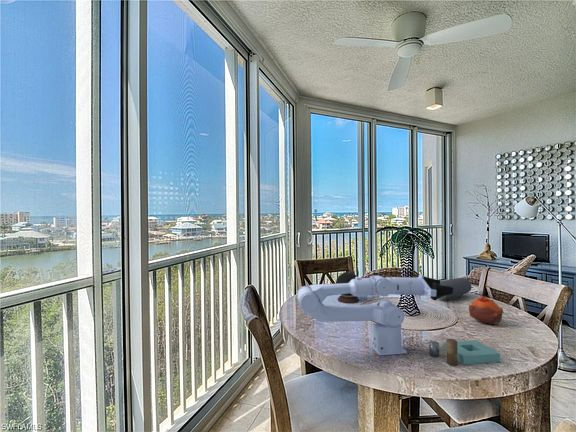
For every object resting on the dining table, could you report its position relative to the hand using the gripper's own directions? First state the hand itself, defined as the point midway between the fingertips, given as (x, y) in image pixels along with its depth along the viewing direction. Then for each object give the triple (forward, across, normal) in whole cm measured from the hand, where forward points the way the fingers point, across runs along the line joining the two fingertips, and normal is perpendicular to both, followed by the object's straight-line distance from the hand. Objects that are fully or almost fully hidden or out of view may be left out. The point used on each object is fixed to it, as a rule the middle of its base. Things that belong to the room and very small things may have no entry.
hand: (445, 286), depth 103 cm
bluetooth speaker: (+37, +55, +23) cm, 70 cm away
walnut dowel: (-4, -13, +20) cm, 24 cm away
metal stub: (-6, -7, +20) cm, 23 cm away
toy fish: (+29, +18, +21) cm, 40 cm away
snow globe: (-18, +57, +26) cm, 66 cm away
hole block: (+5, -8, +20) cm, 22 cm away
